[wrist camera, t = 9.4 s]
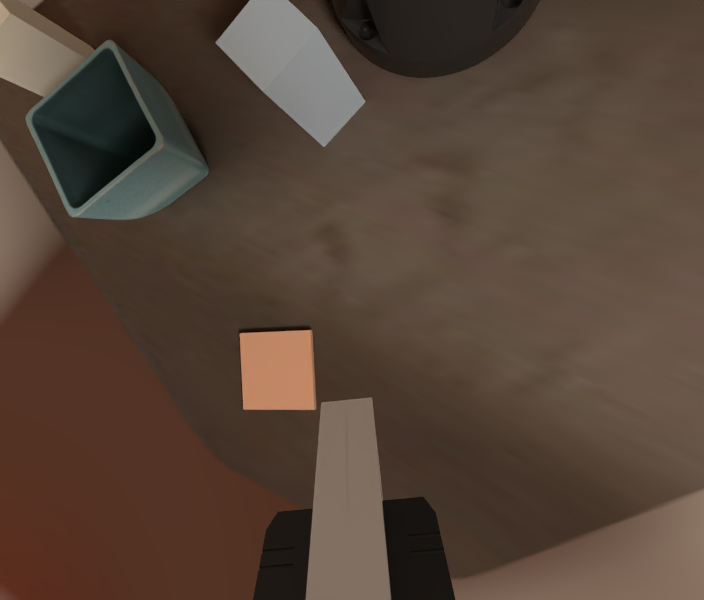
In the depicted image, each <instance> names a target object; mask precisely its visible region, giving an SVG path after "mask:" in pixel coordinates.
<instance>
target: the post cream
mask: <svg viewBox="0 0 704 600" xmlns="http://www.w3.org/2000/svg"><path fill="white" fill-rule="evenodd" d="M94 51H95V50H94V49H93V48H92V47H91V46H89V45H88V44H86V43H85V42H83V41H82V40H80V39H78V38H77V37H75V36H74V35H72V34H71V33H69V32H67V31H66V30H64V29H63V28H61V27H60V26H58V25H56V24H55V23H53V22H52V21H50V20H48V19H47V18H45V17H44V16H42V15H41V14H39V13H37V12H36V11H34V10H33V9H31V8H30V7H28V6H26V5H25V4H23V3H21V2H20V1H19V0H0V77H1V78H3V79H6V80H8V81H10V82H12V83H14V84H16V85H19V86H21V87H23V88H25V89H27V90H30V91H32V92H34V93H36V94H38V95H41V96H43V97H46V95H48V94H49V93H50V92H51V91H52V90H53V89H54V88H56V87H57V86H58V85H59V84H60V83H61V82H62V81H63V80H64V79H65V78H66V77H67V76H68V75H69V74H70V73H71V72H73V71H74V70H75V69H76V68H77V67H78V66H79V65H80V64H81V63H82V62H83V61H84V60H85V59H86V58H87V57H89V55H91V54H92V53H93V52H94Z"/></svg>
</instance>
